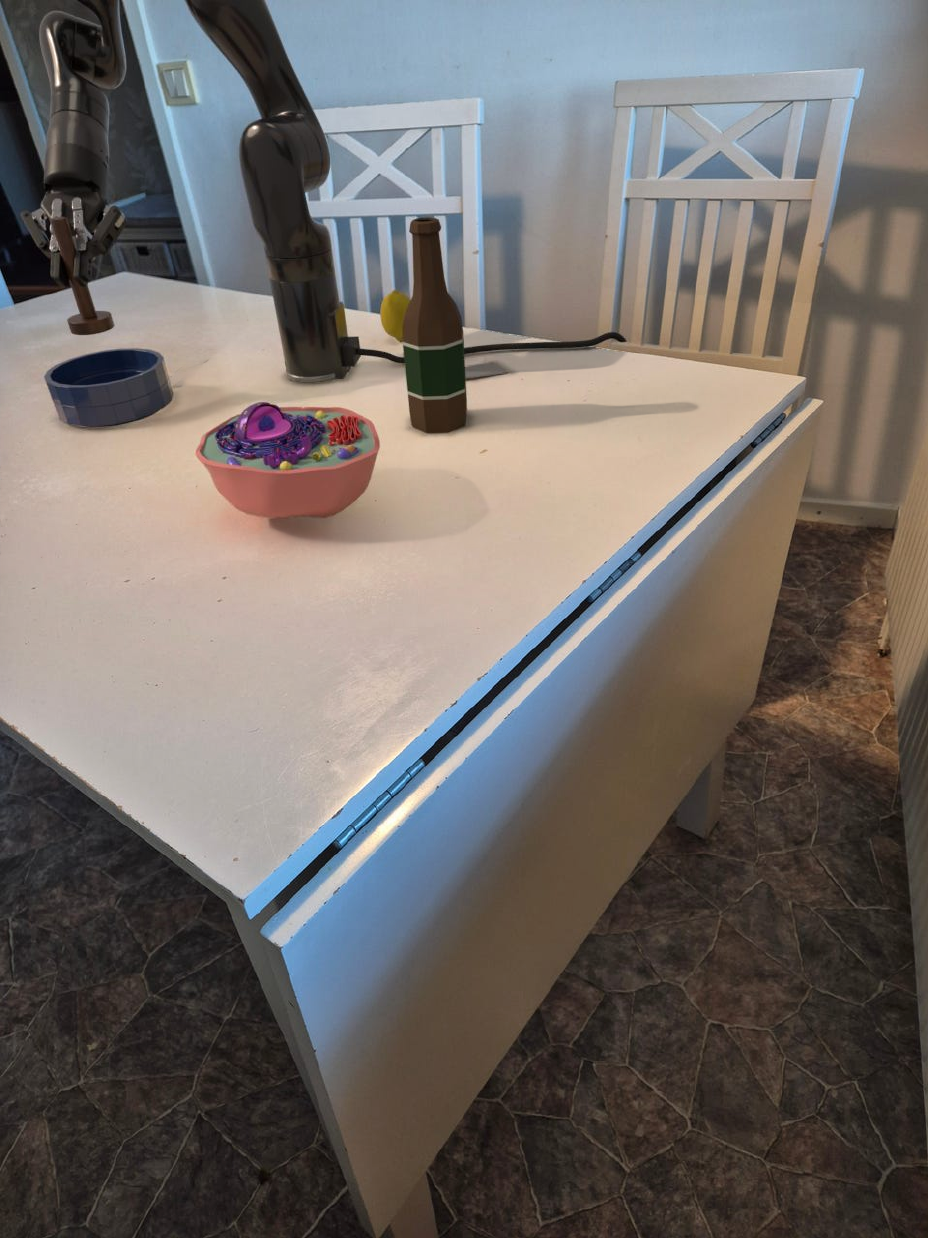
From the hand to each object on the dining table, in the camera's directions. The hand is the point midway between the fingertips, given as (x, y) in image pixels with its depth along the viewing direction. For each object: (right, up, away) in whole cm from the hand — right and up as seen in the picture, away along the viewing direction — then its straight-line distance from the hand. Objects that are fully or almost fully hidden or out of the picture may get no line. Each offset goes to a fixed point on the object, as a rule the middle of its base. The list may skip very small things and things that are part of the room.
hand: (71, 282), depth 104 cm
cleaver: (+50, -8, +15) cm, 53 cm away
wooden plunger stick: (0, -4, +5) cm, 7 cm away
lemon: (+40, +3, +30) cm, 50 cm away
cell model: (+33, -31, -16) cm, 48 cm away
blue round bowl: (+1, -13, +11) cm, 17 cm away
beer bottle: (+47, -18, +1) cm, 50 cm away
